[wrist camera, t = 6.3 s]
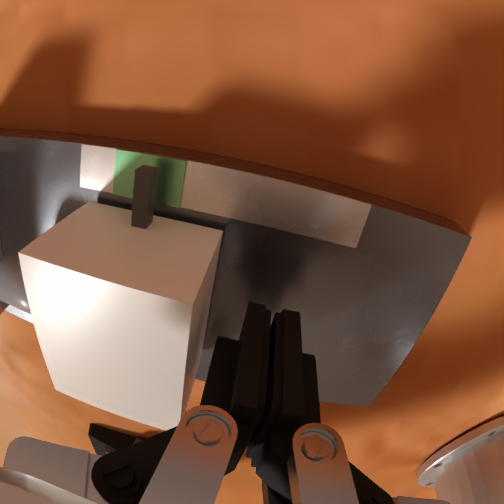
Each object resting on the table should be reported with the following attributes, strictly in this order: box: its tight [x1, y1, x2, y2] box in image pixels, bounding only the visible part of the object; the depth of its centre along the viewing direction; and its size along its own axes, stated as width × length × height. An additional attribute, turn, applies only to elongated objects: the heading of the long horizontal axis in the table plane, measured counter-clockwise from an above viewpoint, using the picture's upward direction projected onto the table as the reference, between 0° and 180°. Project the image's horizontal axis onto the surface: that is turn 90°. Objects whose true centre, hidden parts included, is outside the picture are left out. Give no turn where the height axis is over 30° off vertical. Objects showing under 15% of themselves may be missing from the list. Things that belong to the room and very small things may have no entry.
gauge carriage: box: [0, 165, 223, 430], centre depth 10 cm, size 8×8×4 cm
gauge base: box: [0, 129, 472, 407], centre depth 10 cm, size 23×10×6 cm, turn 78°
